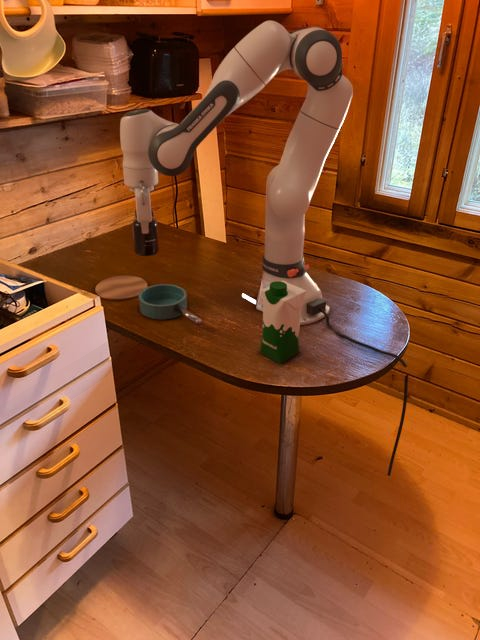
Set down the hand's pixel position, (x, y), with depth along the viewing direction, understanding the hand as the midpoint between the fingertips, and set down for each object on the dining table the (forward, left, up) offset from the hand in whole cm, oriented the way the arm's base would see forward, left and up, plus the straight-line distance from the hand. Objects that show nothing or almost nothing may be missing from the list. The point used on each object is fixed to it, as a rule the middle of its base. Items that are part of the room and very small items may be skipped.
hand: (144, 227), depth 140 cm
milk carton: (-43, -11, -24) cm, 50 cm away
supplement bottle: (0, 0, -7) cm, 7 cm away
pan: (-5, -1, -24) cm, 24 cm away
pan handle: (-17, -1, -21) cm, 27 cm away
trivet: (+14, +2, -24) cm, 27 cm away
